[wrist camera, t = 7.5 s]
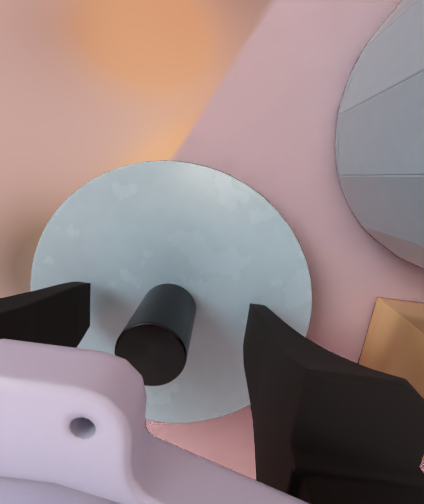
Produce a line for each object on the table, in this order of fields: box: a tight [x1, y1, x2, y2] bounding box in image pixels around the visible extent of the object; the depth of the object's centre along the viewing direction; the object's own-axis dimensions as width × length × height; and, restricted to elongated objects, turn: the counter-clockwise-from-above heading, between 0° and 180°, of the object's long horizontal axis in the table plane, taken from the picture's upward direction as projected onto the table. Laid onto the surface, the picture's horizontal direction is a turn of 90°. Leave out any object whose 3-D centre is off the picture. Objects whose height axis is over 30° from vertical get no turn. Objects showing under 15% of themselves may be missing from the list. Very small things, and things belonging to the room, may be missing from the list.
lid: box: [30, 160, 312, 423], centre depth 12 cm, size 13×13×5 cm
